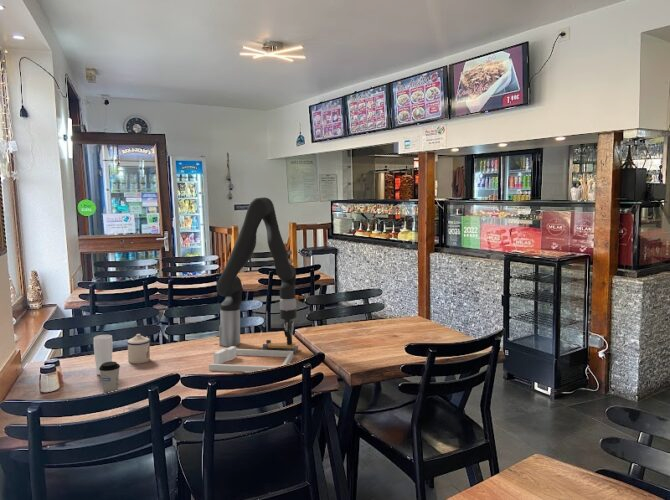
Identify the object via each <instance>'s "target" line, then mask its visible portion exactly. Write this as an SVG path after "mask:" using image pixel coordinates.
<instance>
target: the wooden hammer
mask: <svg viewBox="0 0 670 500" xmlns="http://www.w3.org/2000/svg"><path fill="white" fill-rule="evenodd" d="M267 344H268V348H294V346H297V344H296V342H293V341H292V345H287V342H271V343H267Z"/></svg>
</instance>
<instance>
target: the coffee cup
mask: <svg viewBox="0 0 670 500" xmlns="http://www.w3.org/2000/svg"><path fill="white" fill-rule="evenodd" d="M120 368H121V365H120V364H119V363H118V362H116V361H113V360H112V362H105V363H103V364H102V365H101V366H100V367H99V370H100V374H101V375H100V380H101V385H102V391H103V393H106V392H111V391H115V390H117V391H118V385H119V377H120V376H119V375H120ZM115 392H116V391H115ZM111 393H112V392H111ZM106 394H107V393H106Z"/></svg>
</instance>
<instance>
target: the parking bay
mask: <svg viewBox="0 0 670 500" xmlns="http://www.w3.org/2000/svg"><path fill="white" fill-rule="evenodd" d="M236 356H253V357H272V358H273V357H276V358H279V357H280V358H285V359H284V361H283V362H282V365H285V364H288V363H289V364H290V363H291V361H292V360H293V358H294V355H293V351H279V350H261V349H256V348H255V349H250V348H236ZM282 365H281V366H282ZM273 367H276V366H274V365H273V366H272V365H269V366H268V365H251V364H250V365H249V364H248V365H247V364H231V363H230V364H228V363H225V364H224V363H221V364H214V363H209V364H208V370H209V371H211V372H212V371H213V372H214V371H215V372H219V371H220V372H231V371H258V370H263V369H269V368H273Z"/></svg>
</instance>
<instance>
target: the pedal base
mask: <svg viewBox="0 0 670 500" xmlns="http://www.w3.org/2000/svg"><path fill="white" fill-rule="evenodd" d="M265 342H266V343H263V344H262V347H261V349H260V350H279V351H293V356H294V355H295V356H296V353H297V352H298V350H299V345H295V346H294V348H268V344H267V343H272V340H271V339H266V341H265Z"/></svg>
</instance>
